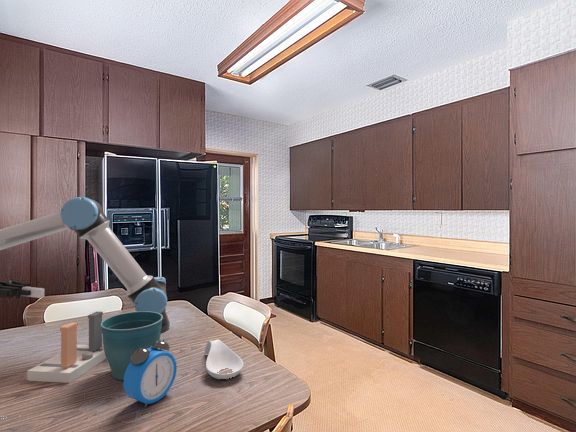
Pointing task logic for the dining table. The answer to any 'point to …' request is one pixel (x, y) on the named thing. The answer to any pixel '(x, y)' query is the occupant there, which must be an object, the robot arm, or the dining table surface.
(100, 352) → the console
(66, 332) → the terracotta paddle
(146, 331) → the flower pot
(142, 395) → the alarm clock
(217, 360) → the spoon rest
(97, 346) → the gray capped upright block
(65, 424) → the dining table surface
